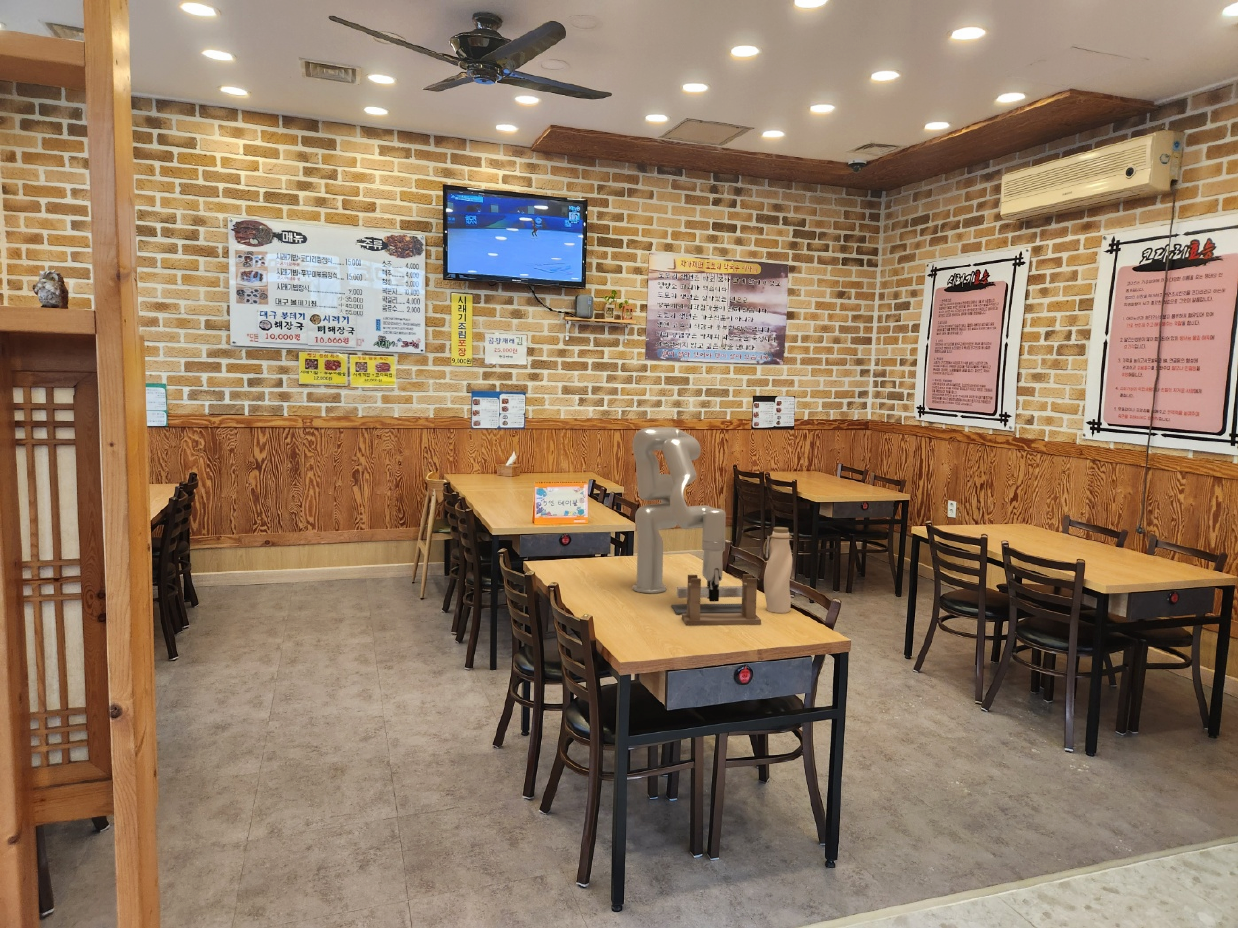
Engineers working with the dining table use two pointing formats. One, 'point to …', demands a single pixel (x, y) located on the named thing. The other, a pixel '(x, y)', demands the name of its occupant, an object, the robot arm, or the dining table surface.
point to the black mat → (709, 608)
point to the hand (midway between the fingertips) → (712, 599)
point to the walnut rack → (742, 618)
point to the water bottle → (778, 571)
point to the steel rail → (723, 591)
